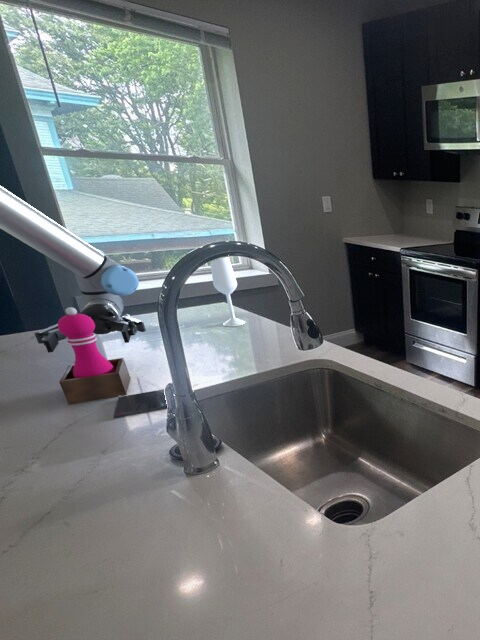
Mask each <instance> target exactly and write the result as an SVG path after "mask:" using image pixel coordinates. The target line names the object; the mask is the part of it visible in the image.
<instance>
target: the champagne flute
mask: <svg viewBox="0 0 480 640" xmlns="http://www.w3.org/2000/svg"><path fill="white" fill-rule="evenodd" d="M209 262H210V261H209ZM210 270H211V276H212V284H213V288H214V289H215V290H217V291H218V292H219V293H221V294H222V295H225V297H226V301H227V307H228V310H229V316H230V318H229V319H228V320H226V321H225V322H223V324H222V326H224V327H238V326H241V325H242V326H243V325H244V324H246V320H243V319H240V318H239V317H236V315H235V310H234V306H233V302H232V297H231V294H233V293H234V291H235V290H236V289H237V287H238V281H237V278H236V274H235V271H234V268H233V266H232V263H231V259H230V256H229V257H225V258H219V259H217V260H215V261H212V262H210Z"/></svg>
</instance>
